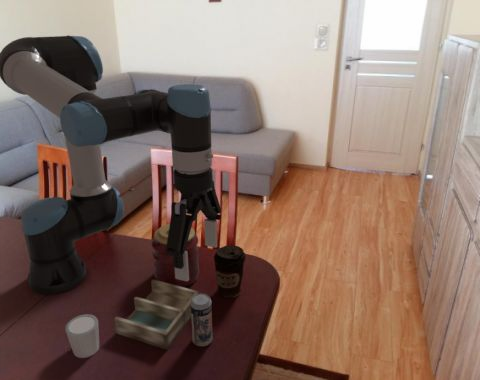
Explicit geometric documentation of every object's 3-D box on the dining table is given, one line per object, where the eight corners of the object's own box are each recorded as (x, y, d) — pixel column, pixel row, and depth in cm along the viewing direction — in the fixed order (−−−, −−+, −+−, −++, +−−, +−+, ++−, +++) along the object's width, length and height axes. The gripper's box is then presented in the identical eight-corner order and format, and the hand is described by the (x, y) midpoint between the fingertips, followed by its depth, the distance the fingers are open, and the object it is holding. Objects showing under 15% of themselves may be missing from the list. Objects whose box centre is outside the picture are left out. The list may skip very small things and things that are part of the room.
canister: (206, 267, 121) (204, 215, 114) (189, 293, 110) (186, 237, 102) (166, 260, 124) (162, 209, 117) (146, 284, 113) (140, 230, 106)
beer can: (196, 350, 91) (194, 308, 86) (189, 336, 95) (186, 296, 90) (215, 343, 93) (215, 302, 88) (207, 330, 97) (206, 289, 92)
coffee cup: (241, 303, 106) (241, 262, 100) (210, 299, 107) (209, 258, 102) (247, 283, 114) (248, 244, 108) (219, 280, 115) (218, 241, 110)
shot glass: (75, 338, 94) (70, 314, 91) (105, 336, 95) (101, 313, 92) (66, 361, 88) (60, 336, 85) (98, 359, 88) (93, 335, 86)
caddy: (116, 333, 96) (114, 318, 94) (154, 292, 110) (152, 279, 108) (167, 350, 91) (166, 334, 89) (199, 305, 105) (199, 291, 103)
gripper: (177, 195, 65) (185, 300, 74) (235, 151, 87) (235, 237, 95) (138, 188, 68) (150, 291, 76) (203, 148, 89) (207, 231, 97)
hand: (197, 261), depth 86 cm, fingers open, 13 cm apart
